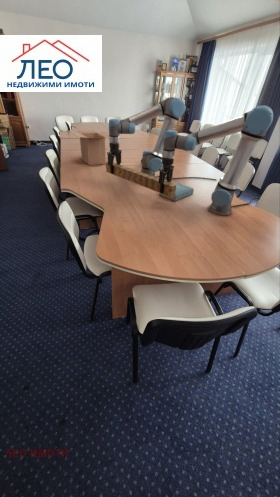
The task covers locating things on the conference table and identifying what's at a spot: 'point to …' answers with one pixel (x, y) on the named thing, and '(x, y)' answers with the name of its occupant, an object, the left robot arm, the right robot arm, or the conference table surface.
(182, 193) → the book
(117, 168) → the post
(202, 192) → the conference table surface
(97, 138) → the box
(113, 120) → the left robot arm
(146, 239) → the conference table surface
